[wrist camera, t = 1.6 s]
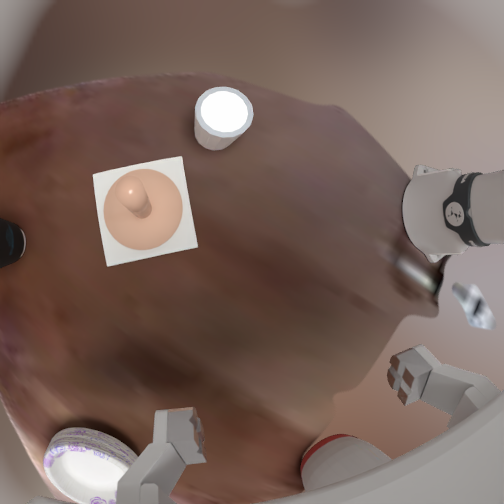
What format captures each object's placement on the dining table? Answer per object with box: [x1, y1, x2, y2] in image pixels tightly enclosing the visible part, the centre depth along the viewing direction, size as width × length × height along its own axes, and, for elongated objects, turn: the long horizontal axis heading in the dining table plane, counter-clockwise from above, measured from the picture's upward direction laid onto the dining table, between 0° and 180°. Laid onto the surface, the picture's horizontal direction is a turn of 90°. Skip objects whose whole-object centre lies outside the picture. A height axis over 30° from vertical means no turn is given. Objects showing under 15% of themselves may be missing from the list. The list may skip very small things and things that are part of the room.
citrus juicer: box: [301, 434, 391, 492], centre depth 36 cm, size 16×17×20 cm
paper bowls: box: [43, 427, 138, 504], centre depth 30 cm, size 15×15×8 cm
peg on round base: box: [104, 169, 183, 250], centre depth 29 cm, size 10×10×14 cm
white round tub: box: [194, 87, 253, 150], centre depth 35 cm, size 7×7×7 cm
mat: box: [93, 156, 198, 267], centre depth 35 cm, size 12×12×1 cm
